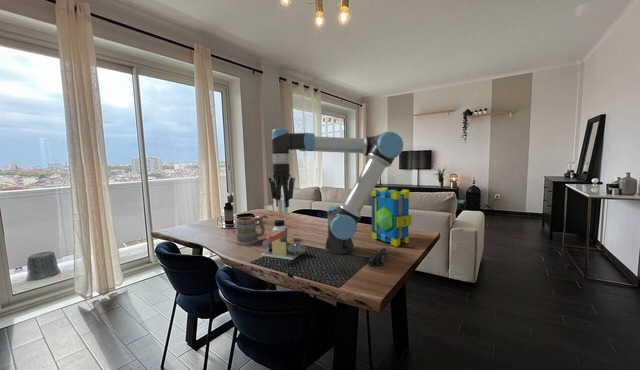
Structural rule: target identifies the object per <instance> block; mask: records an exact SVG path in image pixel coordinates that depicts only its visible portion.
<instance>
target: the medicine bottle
mask: <svg viewBox="0 0 640 370" xmlns="http://www.w3.org/2000/svg"><path fill="white" fill-rule="evenodd" d="M273 222H274V223H273V224H274V227H273V228H272V230H271V234H273V233H276V232H278V231H279V230H281V229H286V230H287V231H288V227H287V226H286V225H285V220H284V219H281V218H279V219H276V220H274V221H273Z"/></svg>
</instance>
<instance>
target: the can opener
mask: <svg viewBox="0 0 640 370" xmlns="http://www.w3.org/2000/svg"><path fill="white" fill-rule="evenodd" d="M386 251H387V248H385V247H383V248H381V249H379V250H377V252H376V253H375V255H374V257H370V258H369V259H368V265H372V266H375V265H377V266H382V265H384V264H385V263H384V259H386V257H387V255H388V253H386Z"/></svg>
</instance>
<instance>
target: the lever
mask: <svg viewBox="0 0 640 370" xmlns="http://www.w3.org/2000/svg"><path fill="white" fill-rule="evenodd" d="M287 238H288V229H287V230H286V229H281V230H279V231H278V232H276V233H273V234H272V233H271V234H269V235H267V236H266V241H267V242H268V243H270V242H273V241H275V240H277V239H279V240H286V239H287Z"/></svg>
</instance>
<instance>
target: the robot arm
mask: <svg viewBox="0 0 640 370" xmlns="http://www.w3.org/2000/svg"><path fill="white" fill-rule="evenodd" d="M271 149H272V151H271V152H272V162H273V164H272V172H273V175H272V176H271V177H268V179H267V180H268V182H269V184H270V185H269V186H270V192H271V198H272V199H274V200H275V205H276V208H277V213H278V214H277V215H281V214H283V215H288V214H289V209H288V208H289V206H290V200H291V199H293V197H294V188H295V187H294V186H295V180H296V177H293V176H291V174H290V167H291V166H290V151H294V150H295V151H300V152H321V153H322V152H323V153H346V154H362V156H366V157H368V160H367V162H366V163H365V165H364V167H363V169H362V171H361V172H360V174H359V176H358V178H357V179H356V181H355V183H354V185H353V186H352V189H351V190H350V192H349V193H348V196H347V198H346V199H345V201H344V203H341V204H339V205H334V206H332V205H331V206H328V207H327V212H326V213H327V237H326V241H325V246H324V249H325V252H326V253H329V254H334V255H346V254H350V253H353V252H354V250H355V246H354V242H353V239H352V237H354V235H355V234H356V233H357V228H358V224H359V222H360V220H361V218H362V216H361V211H362V210H363V208H364V206H365V204H366V202H367V201H368V199H369V197H370V196H371V192H372V191H373V189H375V187H376V185H377V183H378V181H379V180H380V178H381V177H382V175H383V173H384V171H385V170H386V168H388V167H391V166H392V164H393V162H394V161H395V159H396V158H397V157H399V156H400V155H401V154H402V152H403V149H404V141H403V138H402V137H401V135H399V134H398V133H396V132H393V131H385V132H382V133H381V134H378V135H373V136H364V137H362V138H360V137H359V138H358V137H340V136H339V137H338V136H337V137H335V136H318V135H317V136H315V133H312V132H298V133H297V132H296V133H292V132H291V133H290V132H289V130H288V129H287V128H274V129H272V131H271ZM282 192H283V197H284V199H282V197H281V196H282Z"/></svg>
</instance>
